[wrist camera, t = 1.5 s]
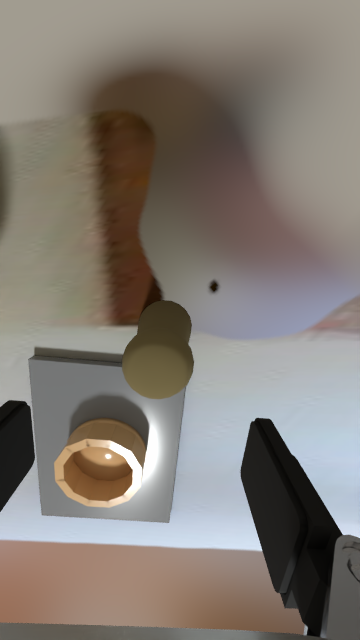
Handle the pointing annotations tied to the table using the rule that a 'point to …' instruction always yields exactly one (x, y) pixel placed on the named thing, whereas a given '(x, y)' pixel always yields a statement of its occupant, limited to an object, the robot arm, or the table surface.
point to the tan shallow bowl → (101, 463)
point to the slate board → (102, 402)
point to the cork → (160, 352)
